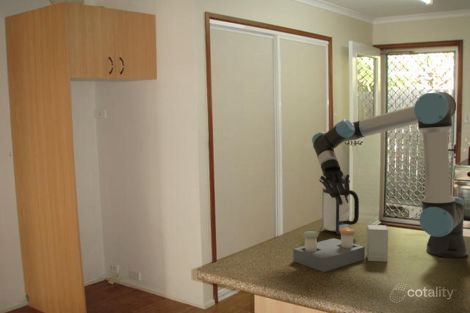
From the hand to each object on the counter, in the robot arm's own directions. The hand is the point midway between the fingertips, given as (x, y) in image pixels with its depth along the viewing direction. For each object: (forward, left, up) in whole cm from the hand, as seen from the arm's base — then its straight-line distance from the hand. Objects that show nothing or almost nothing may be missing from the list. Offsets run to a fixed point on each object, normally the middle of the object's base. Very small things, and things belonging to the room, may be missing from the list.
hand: (346, 210), depth 187 cm
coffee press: (+28, -27, -19) cm, 43 cm away
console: (+2, +8, -19) cm, 20 cm away
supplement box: (-8, -8, -19) cm, 23 cm away
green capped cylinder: (+5, +15, -18) cm, 23 cm away
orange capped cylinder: (-1, +1, -18) cm, 18 cm away
